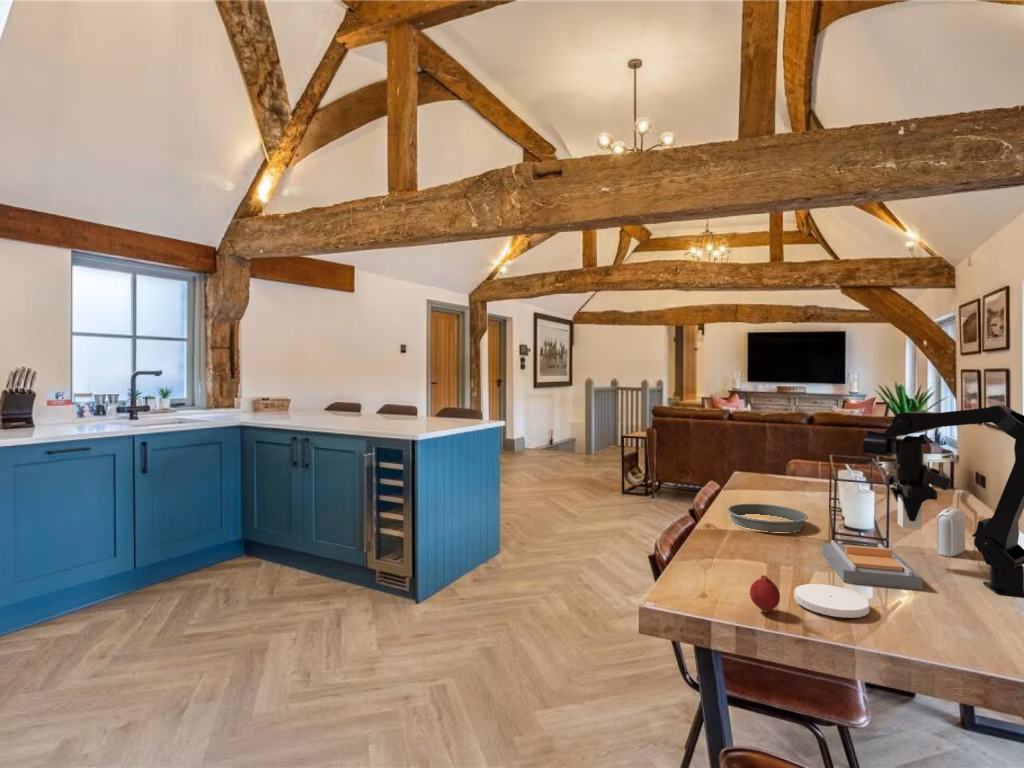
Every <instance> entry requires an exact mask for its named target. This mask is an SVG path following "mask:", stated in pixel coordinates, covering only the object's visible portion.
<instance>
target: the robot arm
mask: <svg viewBox="0 0 1024 768" xmlns="http://www.w3.org/2000/svg"><path fill="white" fill-rule="evenodd" d="M990 423H992V424H994V425H995V426H997V427H998V428H999V429H1000V430H1001V431H1003V432H1004V433H1005V434H1006V435H1008V436H1010V437H1011V438H1013V439H1014V440H1015V442H1014V447H1013V449H1014V450H1013V451H1014V452H1013V453H1014V460H1015V461H1014V462H1013V463H1014V464H1013V466H1012V468H1011V471H1010V474H1009V476H1008V479H1007V481H1006V483H1005V485H1004V488H1003V491H1002V493H1001V495H1000V498H999V501H998V503H997V505H996V508H995V511H994V512H993V515H992V516H991V517H988V518H985V519H981V520H978V522H977V524H976V530H975V532H974V533H973V534H972V535H971V536H972V538H974V541H973V542H974V546H975V547H976V549H977V551H978V552H980V554H981V555H982V558H983V560H984V562H985V564H986V565H988V566H989V567H990V568H989V571H990V572H989V581H982V584H983V585H984V586H985V587H987V588H988V589H989V590H991V591H993V592H994V593H995V594H998V595H1003V596H1004V595H1006V596H1014V597H1015V596H1016V597H1024V548H1023V547H1022V546H1021V545H1020V544H1019V536H1020V527H1019V521H1020V519H1021V516H1022V514H1023V511H1024V414H1022V413H1019V412H1017V411H1015V410H1013V409H1012V408H1010V407H1009V406H1007V405H1004V404H1002V405H1000V404H998V405H991V406H988V407H981V408H970V409H963V410H961V409H960V410H952V411H944V412H943V411H942V412H935V411H933V412H932V411H904V412H903V411H901V412H899V413H896V414H895V415H894V417H893V419H892V422H891V424H890V426H889V427H888V428H886V430H885V431H879V430H873V429H871V430H867V431H866V432H867V433H866V434H867V435H866V436H865V437H864V438H863V439H864V440H863V442H862V451H863V452H864V454H865V455H867V456H868V455H870V456H878V457H885V458H891V457H892V456H894V455H895V461H893V466H894V467H895V474H893V473H889V474H887V475H886V476H885V477H884V484H885V485H886V486H891V485H893V486H892V487H889V490H890V491H891V494H892V495H893V497H894V499H895V501H896V503H897V504H898V494H900V497H901V500H902V502H903V505H904V508H905V510H906V513H907V515H908V518H909V520H910V521H915V520H916V517H917V514H918V512H919V509H920V507H921V508H922V504H923V503H924V502H926V501H927V500H938V491H937V490H936V489H934V487H932V486H935V487H936V488H937V487H938V488H940V489H941V490H943V491H948V488H949V486H950V484H951V482H952V478H949V477H947V476H945V475H942V474H940V470H939V469H936V468H934V467H929V468H928V465H926V464H924V445H931V444H934V440H932V439H931V438H930V437H929V436H927V434H926V433H924V434H920V433H923V432H927V431H932V430H935V429H939V428H943V427H952V426H953V427H954V426H968V425H976V424H977V425H978V424H979V425H981V424H990ZM911 434H919V436H917V435H916V436H915V435H914V436H913V435H911ZM898 437H903V438H898ZM929 485H932V486H929Z"/></svg>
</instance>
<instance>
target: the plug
mask: <svg viewBox="0 0 1024 768" xmlns="http://www.w3.org/2000/svg"><path fill="white" fill-rule="evenodd" d="M897 525H898V526H900V527H901V528H902V529H913V530H922V506H921V507H920V509H919V512H918V514H917V517H916V520H915V521H910V520H909V518H908V515H907V513H906V510H905V508H904V505H903V502H902V500H901V497H900V494H898V503H897Z"/></svg>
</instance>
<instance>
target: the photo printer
mask: <svg viewBox="0 0 1024 768" xmlns="http://www.w3.org/2000/svg"><path fill="white" fill-rule="evenodd" d="M965 551H966V516H965V514H964V512H963V511H962V510H960V509H959V508H953V507H949V508H945V509H943V510H942V511H941V512H940V513H939V514H938V515H937V519H936V552H937V554H939V555H940V556H945V557H949V558H950V557H955V556H957V555H959V554H961V553H964V552H965Z"/></svg>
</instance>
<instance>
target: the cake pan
mask: <svg viewBox="0 0 1024 768" xmlns="http://www.w3.org/2000/svg"><path fill="white" fill-rule="evenodd" d="M726 510H727V513H729V514H730V517H731V518H730V519H731V522H732V521H733V522H734V523H735V524H737V525H739V526H742V527H745V528H750V529H755V530H761V531H768V532H794V531H798V530H800V529H801V530H802V529H803V526H804V523H805V521H807V520H808V518H809V516H808V514H807V513H806V512H804V511H801V510H798V509H795V508H792V507H787V506H782V505H777V504H776V505H775V504H767V503H766V504H765V503H738V504H733V505H730V506H728V507H727V509H726ZM745 514H760V515H770V516H777V517H782V518H786V519H789V520H793V521H787V520H782V521H781V520H772V521H767V520H758V519H752V518H747V517H743V516H740V515H745ZM801 530H800V531H801ZM798 532H799V531H798ZM794 533H795V532H794Z"/></svg>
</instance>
